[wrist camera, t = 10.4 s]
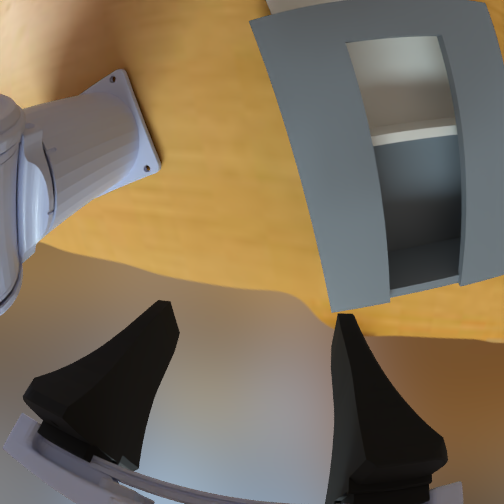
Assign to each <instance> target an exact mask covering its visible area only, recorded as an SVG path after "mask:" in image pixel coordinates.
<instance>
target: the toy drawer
mask: <svg viewBox="0 0 504 504" xmlns="http://www.w3.org/2000/svg"><path fill="white" fill-rule="evenodd" d="M336 1H343V0H266V2H267V4H268V7H269V9H270V12H271V14H276V13H280V12H284V11H288V10H292V9H297V8H302V7H307V6H312V5H317V4H323V3H329V2H336ZM346 46H347V49H348V52H349V55H350V58H351V62H352V65H353V68H354V71H355V75H356V78H357V82H358V85H359V89H360V92H361V96H362V100H363V104H364V108H365V112H366V116H367V121H368V125H369V129H370V134H371V139H372V144H373V146H378V145H384V144H390V143H396V142H403V141H410V140H416V139H424V138H431V137H439V136H448V135H457V127H456V120H455V113H454V107H453V101H452V96H451V91H450V86H449V81H448V77H447V72H446V68H445V64H444V60H443V57H442V53H441V49H440V46H439V42H438V39H437V36H420V37H399V38H386V39H375V40H367V41H359V42H351V43H346Z"/></svg>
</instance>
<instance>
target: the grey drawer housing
mask: <svg viewBox="0 0 504 504" xmlns="http://www.w3.org/2000/svg"><path fill="white" fill-rule="evenodd" d="M249 23H250V26H251V28H252V31H253V33H254V36H255V39H256V41H257V44H258V47H259V50H260V52H261V55H262V58H263V61H264V63H265V66H266V69H267V72H268V75H269V78H270V81H271V84H272V87H273V90H274V93H275V96H276V99H277V102H278V105H279V108H280V111H281V114H282V117H283V121H284V124H285V127H286V130H287V134H288V137H289V140H290V144H291V147H292V151H293V154H294V157H295V161H296V164H297V168H298V172H299V175H300V179H301V183H302V186H303V190H304V194H305V198H306V201H307V205H308V209H309V213H310V217H311V221H312V225H313V229H314V233H315V238H316V242H317V246H318V250H319V255H320V259H321V264H322V268H323V273H324V277H325V282H326V287H327V291H328V296H329V301H330V306H331V311H332V313H333V312H339V311H345V310H351V309H357V308H362V307H368V306H373V305H379V304H384V303H389V302H390V298H391V297H396V296H401V295H406V294H410V293H415V292H420V291H424V290H429V289H433V288H437V287H442V286H446V285H450V284H454V283H459V285H460V286H464V285H468V284H472V283H476V282H480V281H483V280H487V279H491V278H494V277H498V276H501V275H504V64H503V60H502V55H501V51H500V48H499V44H498V40H497V37H496V33H495V30H494V27H493V24H492V21H491V18H490V15H489V12H488V9H487V6H486V4H485V3H482V2H476V1H469V0H343V1H336V2H329V3H323V4H317V5H312V6H307V7H302V8H297V9H292V10H288V11H284V12H280V13H276V14H272V15H268V16H265V17H261V18H258V19H254V20H251V21H249ZM420 36H437V39H438V42H439V46H440V49H441V53H442V57H443V60H444V64H445V68H446V72H447V77H448V81H449V86H450V91H451V96H452V101H453V107H454V113H455V120H456V127H457V135H448V136H439V137H431V138H424V139H416V140H410V141H403V142H396V143H390V144H384V145H378V146H373V144H372V139H371V134H370V129H369V125H368V121H367V116H366V112H365V108H364V104H363V100H362V96H361V92H360V89H359V85H358V82H357V78H356V75H355V71H354V68H353V65H352V62H351V58H350V55H349V52H348V49H347V46H346V43H351V42H359V41H367V40H375V39H386V38H399V37H420Z"/></svg>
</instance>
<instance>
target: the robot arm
mask: <svg viewBox="0 0 504 504" xmlns="http://www.w3.org/2000/svg"><path fill="white" fill-rule="evenodd" d="M114 76H115V78H116V80H115V82H113V77H114ZM147 165H148V166H149V167H150V171H149V170H147V168H146V166H147ZM160 169H161V162H160V160H159V157H158V155H157V152H156V150H155V147H154V145H153V142H152V140H151V137H150V134H149V132H148V129H147V127H146V124H145V121H144V119H143V116H142V114H141V111H140V108H139V106H138V103H137V100H136V97H135V95H134V92H133V89H132V86H131V84H130V81H129V78H128V75H127V72H126V71H125V70H124V69H118V70H115V71H114V72H112V73H111V74H109V75H108V76H106V77H104V78H103V79H101V80H100V81H98V82H97V83H95V84H94V85H92V86H91V87H90V88H88V89H87V90H85V91H84V92H82V93H81V94H80V95H78V96H73V97H68V98H64V99H59V100H55V101H51V102H47V103H43V104H39V105H35V106H31V107H28V108H24V109H22V108H21V107H20V106H18V105H17V104H16V103H15V102H14V101H13V100H12V99H11V98H10V97H8V96H5V95H2V94H0V315H2V314H3V313H4V312H5V311H6V310H7V309H8V308H9V307H10V306H11V305H12V303H13V302H14V300H15V299H16V297H17V295H18V293H19V291H20V288H21V284H22V278H23V269H22V263H23V262H24V261H25V260H27V259H28V258H29V257H30V256H31V255H32V254H33V253H34V252H35V247H36V244H37V242H38V241H40V240H41V239H42V238H43V237H44V236H45V235H47V234H48V233H49V232H50V231H52V230H53V229H54V228H55V227H57V226H58V225H59V224H61V223H62V222H63V221H64V220H66V219H67V218H68V217H70V216H71V215H72V214H74V213H75V212H76V211H78V210H79V209H80V208H82V207H83V206H85V205H86V204H87V203H89V202H90V201H91V200H93V199H94V198H97V197H99V196H101V195H103V194H106V193H108V192H110V191H112V190H115V189H117V188H119V187H122V186H124V185H127V184H129V183H131V182H134V181H136V180H139V179H141V178H144V177H146V176H149V175H152V174H154V173H156V172H158V171H159V170H160ZM179 333H180V332H179V329H178V326H177V323H176V319H175V316H174V312H173V309H172V306H171V302H170V301H161V300H158V301H157V302H155V303H154V304H153V305H152V306H151V307H149V308H148V309H147V310H146V311H145V312H144V313H143V314H142V315H140V316H139V317H138V318H137V319H136V320H135V321H133V322H132V323H131V324H130V325H129V326H128V327H126V328H125V329H124V330H123V331H121V332H120V333H119V334H117V335H116V336H115V337H113V338H112V339H111V340H110V341H108V342H107V343H106V344H104V345H103V346H101V347H100V348H98V349H97V350H95V351H94V352H92V353H90V354H89V355H87V356H85V357H83V358H81V359H80V360H78V361H76V362H74V363H72V364H70V365H68V366H66V367H63V368H61V369H59V370H56V371H54V372H51V373H48V374H45V375H42V376H39V377H36V378H34V379H33V381H32V383H31V384H30V386H29V387H28V389H27V390H26V392H25V394H24V395H23V400H24V401H25V403H26V404H27V405H28V406H29V407H30V408H31V409H32V410H33V411H34V412H35V413H36V414H37V415H38V416H39V417H40V418H41V419H42V420H43V422H42V424H39V423H38V422H37V421H35V420H34V419H32V418H31V417H29V416H28V415H26V414H24V413H21V415H20V417H19V419H18V420H17V422H16V424H15V426H14V427H13V430H12V431H11V433H10V435H9V437H8V438H7V440H6V442H5V444H4V446H3V449H4V450H5V451H6V452H7V453H8V454H9V455H11V456H12V457H13V458H14V459H15V460H17V461H18V462H19V463H20V464H22V465H23V466H24V467H25V468H27V469H28V470H29V471H30V472H32V473H33V474H34V475H36V476H37V477H38V478H40V479H41V480H42V481H44V482H45V483H46V484H48V485H49V486H51V487H52V488H53V489H55V490H56V491H58V492H59V493H61V494H62V495H64V496H65V497H67V498H68V499H70V500H72V501H73V502H75V503H76V504H154V501H153V500H151V499H148V498H146V497H144V496H142V495H140V494H138V493H137V492H136V491H134V490H131V489H129V488H127V487H125V486H122V485H120V484H119V483H118V481H119V482H122V483H124V484H126V485H129V486H132V487H134V488H137V489H140V490H143V491H145V492H148V493H151V494H154V495H157V496H160V497H163V498H167V499H170V500H174V501H177V502H181V503H184V504H288V503H274V502H264V501H254V500H247V499H240V498H234V497H227V496H222V495H217V494H212V493H207V492H202V491H198V490H194V489H189V488H186V487H181V486H178V485H174V484H171V483H167V482H164V481H160V480H158V479H154V478H151V477H148V476H145V475H142V474H139V473H137V472H134V471H135V470H137V469H138V468H139V461H140V456H141V449H142V444H143V439H144V434H145V429H146V425H147V421H148V417H149V414H150V410H151V407H152V404H153V400H154V397H155V394H156V392H157V389H158V387H159V385H160V383H161V381H162V378H163V376H164V374H165V371H166V370H167V367H168V365H169V362H170V360H171V358H172V356H173V354H174V351H175V348H176V344H177V341H178V338H179ZM331 347H332V348H331V374H332V385H333V399H334V436H333V450H332V460H331V468H330V476H329V484H328V489H327V495H326V502H325V504H463V494H462V493H463V492H462V482H460V481H459V482H455V483H452V484H448V485H444V486H440V487H436V488H433V489H430V490H429V484H430V483H431V482H432V474H433V473H434V472H435V471H437V470H438V469H440V468H441V467H443V466H444V465H445V464H446V463H447V461H448V456H447V450H446V446H445V443H444V439H443V437H442V436H440V435H439V434H438V433H437V432H436V431H434V430H433V429H432V428H431V427H430V426H429V425H427V424H426V423H425V422H424V421H423V420H422V419H421V418H420V417H419V416H418V415H417V414H416V413H415V411H414V410H413V409H412V408H411V407H410V406H409V405H408V404H407V402H405V400H404V399H403V398H402V397H401V395H400V394H399V393H398V391H397V390H396V389H395V388H394V386H393V385H392V384H391V382H390V381H389V379H388V378H387V376H386V375H385V374H384V372H383V370H382V369H381V367H380V365H379V364H378V362H377V361H376V359H375V357H374V355H373V353H372V352H371V350H370V349H369V346H368V344H367V343H366V340H365V338H364V336H363V334H362V332H361V330H360V328H359V326H358V324H357V321H356V319H355V316H354V315H353V314H338V316H337V321H336V326H335V331H334V336H333V341H332V346H331Z"/></svg>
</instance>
